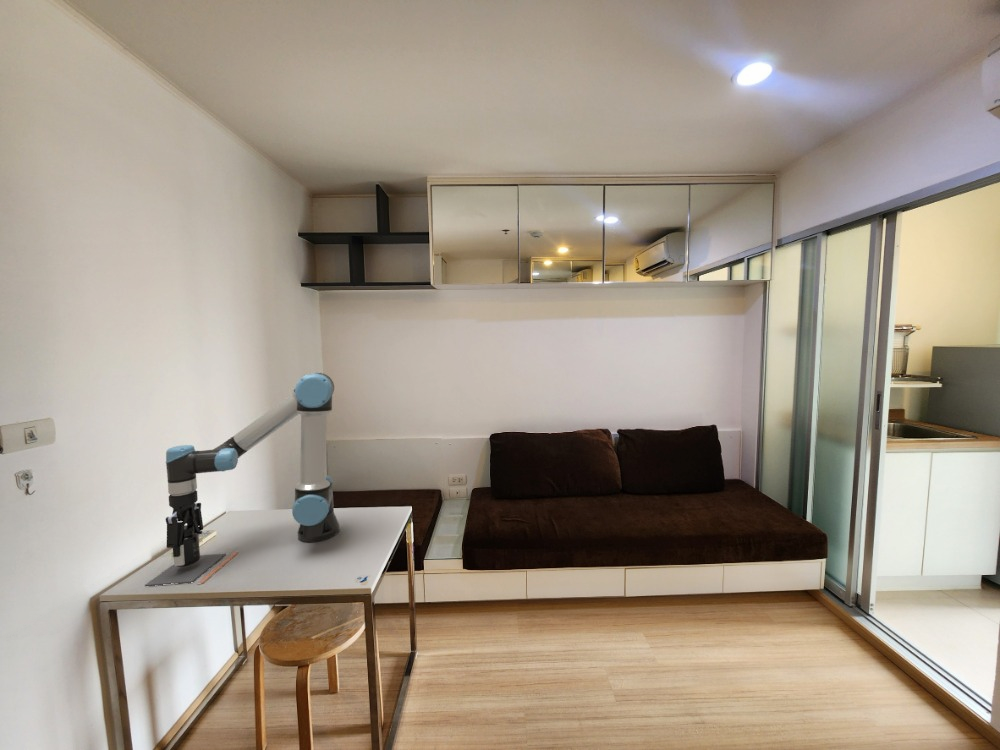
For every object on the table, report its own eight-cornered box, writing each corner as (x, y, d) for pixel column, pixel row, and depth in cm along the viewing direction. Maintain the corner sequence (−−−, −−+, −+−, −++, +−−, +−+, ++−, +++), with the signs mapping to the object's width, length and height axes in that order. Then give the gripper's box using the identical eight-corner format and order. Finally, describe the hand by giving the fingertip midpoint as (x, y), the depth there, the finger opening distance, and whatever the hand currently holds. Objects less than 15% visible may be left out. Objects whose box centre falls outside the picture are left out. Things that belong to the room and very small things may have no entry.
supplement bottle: (193, 555, 139) (191, 521, 139) (204, 559, 136) (202, 525, 135) (170, 564, 133) (167, 529, 133) (180, 569, 130) (178, 533, 129)
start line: (238, 553, 146) (238, 551, 146) (202, 584, 126) (202, 582, 126) (234, 553, 145) (234, 552, 145) (197, 584, 126) (197, 583, 126)
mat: (226, 555, 144) (225, 553, 144) (192, 583, 126) (192, 581, 126) (184, 558, 143) (184, 556, 143) (144, 586, 125) (144, 584, 125)
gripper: (191, 483, 143) (195, 546, 144) (147, 503, 123) (152, 576, 124) (213, 482, 144) (217, 544, 145) (173, 502, 124) (178, 574, 125)
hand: (187, 559), depth 135 cm, fingers closed on supplement bottle, 7 cm apart
